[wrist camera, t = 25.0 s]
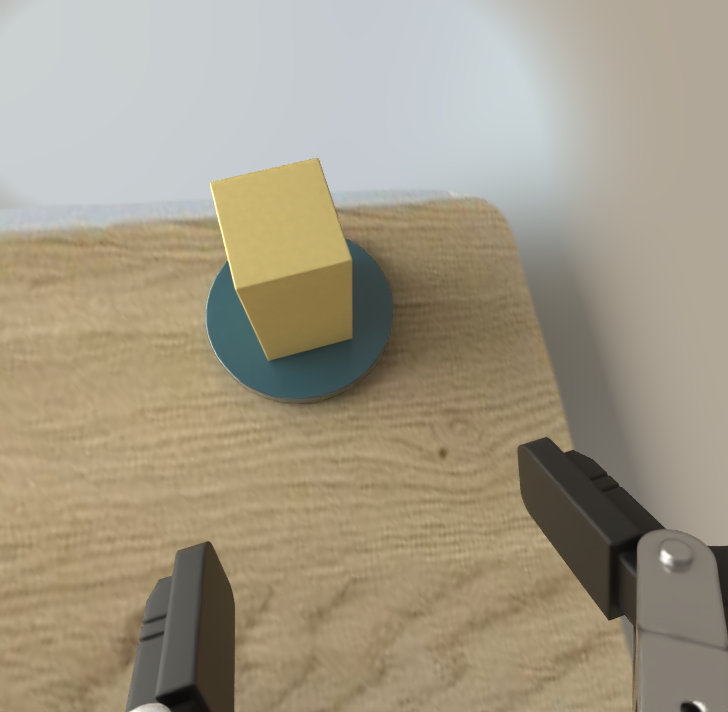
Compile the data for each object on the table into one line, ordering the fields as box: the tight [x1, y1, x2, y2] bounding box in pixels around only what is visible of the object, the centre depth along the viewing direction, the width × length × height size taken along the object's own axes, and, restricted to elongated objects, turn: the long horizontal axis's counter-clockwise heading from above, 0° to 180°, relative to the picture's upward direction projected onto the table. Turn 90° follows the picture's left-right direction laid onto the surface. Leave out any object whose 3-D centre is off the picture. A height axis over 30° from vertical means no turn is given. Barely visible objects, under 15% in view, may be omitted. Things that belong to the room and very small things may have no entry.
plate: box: [206, 238, 393, 403], centre depth 28 cm, size 10×10×1 cm
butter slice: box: [210, 158, 352, 361], centre depth 24 cm, size 5×4×8 cm
